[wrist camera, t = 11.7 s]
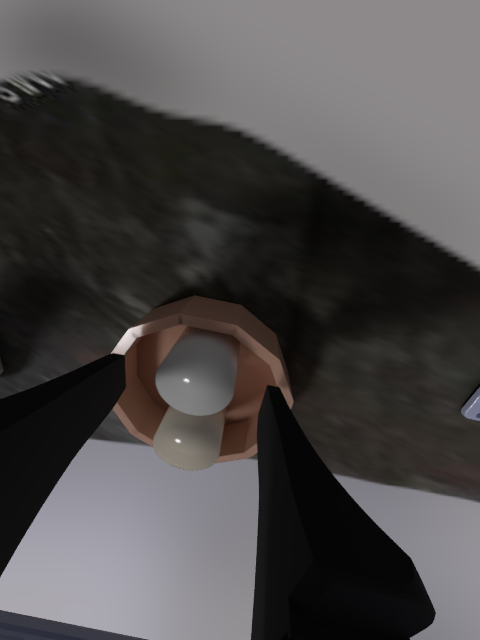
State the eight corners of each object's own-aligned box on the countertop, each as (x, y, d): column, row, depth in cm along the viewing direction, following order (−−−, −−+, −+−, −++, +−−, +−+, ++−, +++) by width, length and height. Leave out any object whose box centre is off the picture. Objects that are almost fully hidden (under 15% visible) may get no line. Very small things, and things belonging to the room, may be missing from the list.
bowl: (305, 318, 14) (317, 341, 11) (264, 438, 18) (264, 475, 16) (130, 281, 14) (98, 296, 11) (132, 411, 18) (110, 444, 16)
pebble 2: (232, 384, 16) (224, 432, 12) (223, 423, 18) (214, 475, 14) (178, 373, 16) (154, 417, 12) (174, 412, 18) (151, 462, 14)
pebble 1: (235, 374, 16) (228, 421, 12) (179, 364, 16) (155, 408, 12) (244, 323, 14) (239, 360, 10) (182, 313, 14) (155, 345, 10)
